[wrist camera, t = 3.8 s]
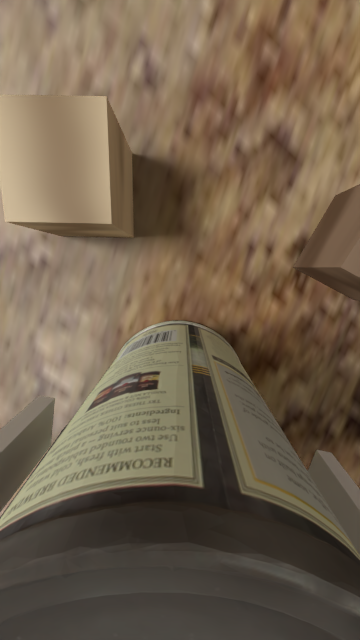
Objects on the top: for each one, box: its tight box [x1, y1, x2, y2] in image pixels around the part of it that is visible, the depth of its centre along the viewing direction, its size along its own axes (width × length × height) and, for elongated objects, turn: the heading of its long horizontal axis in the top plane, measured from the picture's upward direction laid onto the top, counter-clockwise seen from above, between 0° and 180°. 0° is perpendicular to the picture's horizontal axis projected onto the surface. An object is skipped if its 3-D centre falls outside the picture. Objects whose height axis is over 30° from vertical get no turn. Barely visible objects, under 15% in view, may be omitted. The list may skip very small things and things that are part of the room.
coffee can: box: [0, 320, 360, 640], centre depth 11 cm, size 10×10×14 cm
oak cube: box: [0, 95, 134, 238], centre depth 13 cm, size 5×5×5 cm
